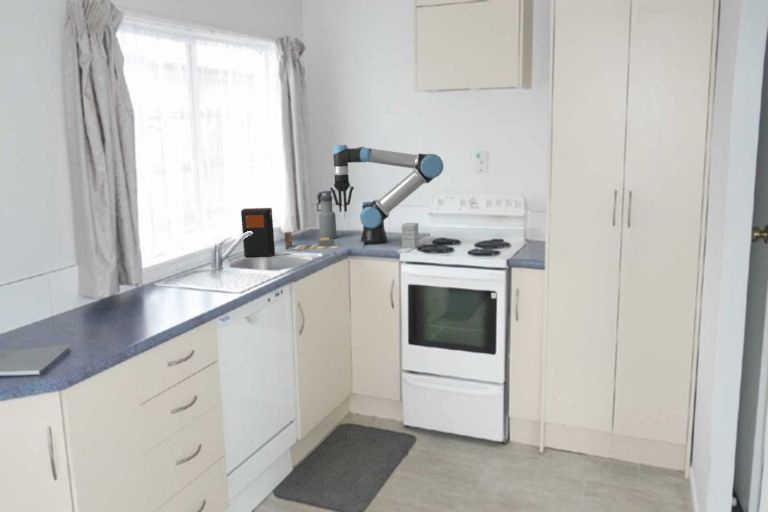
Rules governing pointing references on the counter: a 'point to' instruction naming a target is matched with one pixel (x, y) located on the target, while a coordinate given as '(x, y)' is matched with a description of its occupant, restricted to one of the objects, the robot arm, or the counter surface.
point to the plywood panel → (315, 246)
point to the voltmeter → (258, 232)
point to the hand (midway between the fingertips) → (343, 217)
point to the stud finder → (326, 242)
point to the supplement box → (410, 235)
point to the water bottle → (326, 216)
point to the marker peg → (288, 240)
